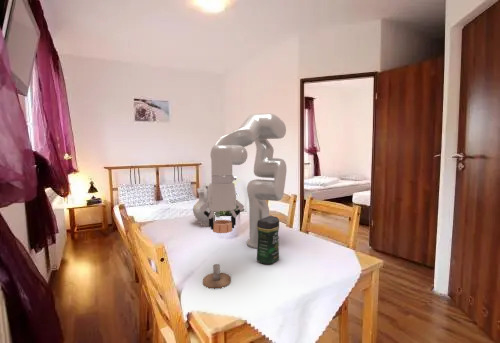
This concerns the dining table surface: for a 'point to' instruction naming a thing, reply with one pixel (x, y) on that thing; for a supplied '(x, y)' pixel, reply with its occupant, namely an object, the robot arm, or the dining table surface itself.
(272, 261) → the coffee jar
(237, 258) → the dining table surface
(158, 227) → the dining table surface
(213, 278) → the post stand
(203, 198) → the ceramic pitcher
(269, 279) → the dining table surface
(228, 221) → the ring
